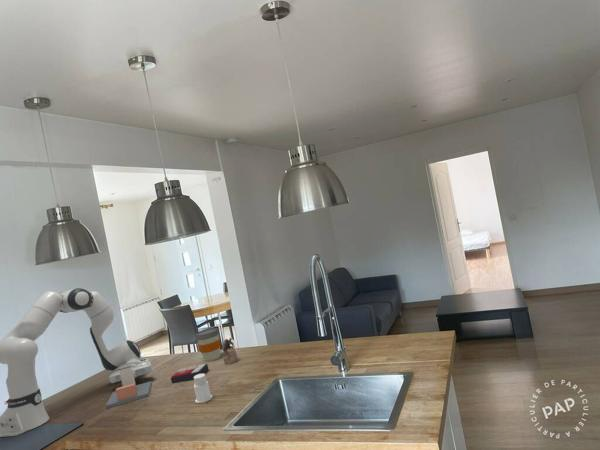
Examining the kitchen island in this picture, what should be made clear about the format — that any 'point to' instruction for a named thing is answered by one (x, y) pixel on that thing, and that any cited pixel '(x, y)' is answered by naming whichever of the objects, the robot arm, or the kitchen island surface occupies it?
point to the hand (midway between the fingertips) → (129, 377)
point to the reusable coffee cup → (209, 344)
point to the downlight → (201, 389)
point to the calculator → (189, 373)
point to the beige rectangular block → (126, 375)
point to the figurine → (229, 352)
